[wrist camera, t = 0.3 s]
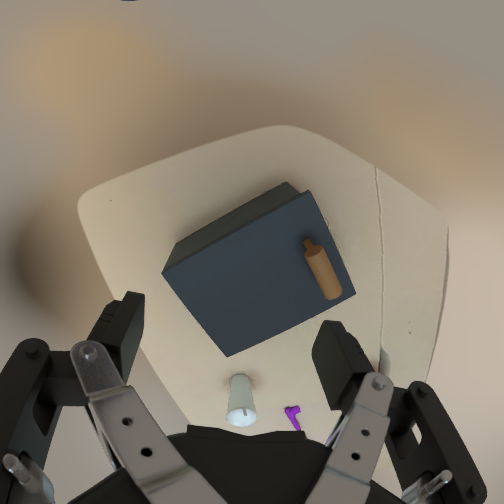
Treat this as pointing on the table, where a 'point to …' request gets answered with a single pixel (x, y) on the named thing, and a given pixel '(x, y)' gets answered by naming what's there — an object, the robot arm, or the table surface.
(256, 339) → the lid
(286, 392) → the table surface
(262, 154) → the table surface
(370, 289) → the table surface
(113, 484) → the robot arm
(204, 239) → the black open box
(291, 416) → the purple yellow rod
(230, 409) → the milkshake
